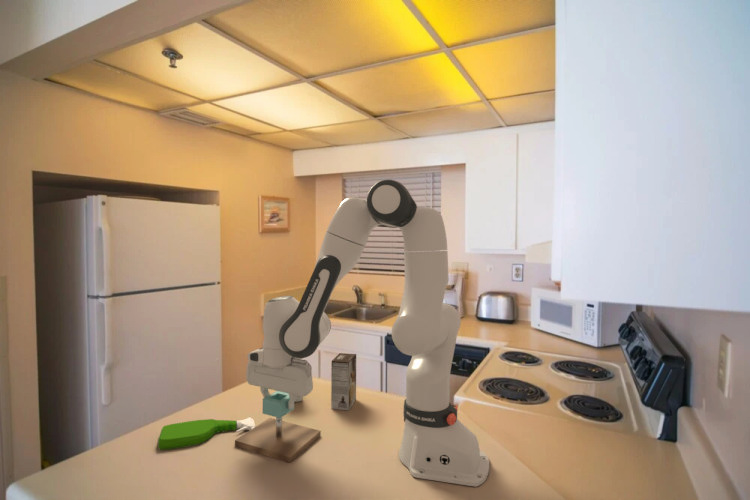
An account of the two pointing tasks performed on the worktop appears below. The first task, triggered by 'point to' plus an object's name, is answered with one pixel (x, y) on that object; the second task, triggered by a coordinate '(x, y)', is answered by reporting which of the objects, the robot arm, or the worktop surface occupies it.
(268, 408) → the teal square ring
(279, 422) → the clear glass vial
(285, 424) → the walnut board
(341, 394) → the coffee box
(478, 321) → the worktop surface
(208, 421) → the spray bottle
